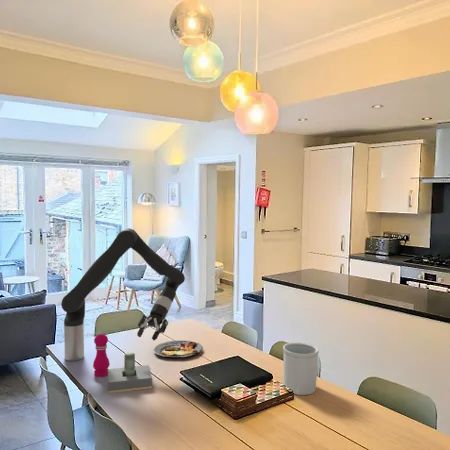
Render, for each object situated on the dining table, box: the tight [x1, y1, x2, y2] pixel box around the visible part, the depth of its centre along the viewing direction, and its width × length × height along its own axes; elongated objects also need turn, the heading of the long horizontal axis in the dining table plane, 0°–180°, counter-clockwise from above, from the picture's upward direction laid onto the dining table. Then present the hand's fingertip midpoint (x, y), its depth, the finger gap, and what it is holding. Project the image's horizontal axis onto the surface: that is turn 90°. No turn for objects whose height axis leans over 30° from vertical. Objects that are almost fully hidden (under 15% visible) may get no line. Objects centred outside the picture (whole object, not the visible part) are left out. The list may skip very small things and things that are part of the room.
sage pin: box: [123, 352, 136, 377], centre depth 182 cm, size 4×4×12 cm
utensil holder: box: [282, 341, 320, 396], centre depth 179 cm, size 15×15×18 cm
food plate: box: [153, 340, 203, 358], centre depth 220 cm, size 25×23×4 cm
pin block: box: [107, 364, 153, 394], centre depth 182 cm, size 14×18×4 cm
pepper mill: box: [92, 330, 111, 378], centre depth 191 cm, size 7×7×20 cm
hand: (145, 337), depth 191 cm, fingers open, 8 cm apart
